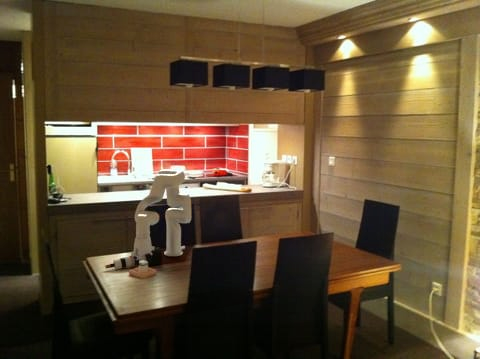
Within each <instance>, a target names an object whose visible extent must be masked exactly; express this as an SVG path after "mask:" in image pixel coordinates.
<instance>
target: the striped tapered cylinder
mask: <svg viewBox="0 0 480 359" xmlns="http://www.w3.org/2000/svg"><path fill="white" fill-rule="evenodd" d="M162 253H163V252H162V250H161V248H160V247H159V246H158V247H155V248H154V252H153V253H152V255H151V256H152V262H148V267H150V266H154V265H158V264H162V263H163V261H164V260H163V258H164V257H163V254H162ZM147 255H148V254H145V255H142V256H140V257H139V259H138V260H139V261H142V260H144V261H147ZM104 267H105V269H109V268H110V269H111V268H114V270H115V271H117V270H123V269H129V268H134V267H135V268H136V266H135V259H134V258H133V257H132V255H128V256H124V257H120V258H118V259H117V258H116V259H113V263H109V264H106V265H104Z"/></svg>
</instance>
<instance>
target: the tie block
mask: <svg viewBox="0 0 480 359" xmlns="http://www.w3.org/2000/svg"><path fill="white" fill-rule="evenodd" d="M148 267H149V266H148V261H144V260H142V261H139V266H137V268H138V272H139V273H142V274H143V273H146V272H148Z"/></svg>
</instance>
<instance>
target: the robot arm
mask: <svg viewBox="0 0 480 359" xmlns="http://www.w3.org/2000/svg"><path fill="white" fill-rule="evenodd" d="M185 179H186V174H185V172H184V171H182V170H179V169H168V168H167V169H164V168H163V169H161V170H159V171H158V173H157V174H156V175H155V176H154V179H153V182H152V185H151V187H150V191H149V193H148V195H147V196H145V197H144V198H143V199H142V200H141V201H140V202H139V203H138V205H137V207H136V210H135V213H134V221H135V224H136V225H135V230H136V232H135V234H136V237H135V239H134V243H133V244H134V245H133V251H132V252H130V254H131V255H132V257H133V258H134V259H135V267H138V266H139V260H138V259H139V257H140V256H142V255H145V254H148V255H147V261H148V262H152V256H151V255H152V253H153V252H154V248H156V247H155V246H152V240H151V236H150V234H151V231H150V230H151V229H150V226H154V225H156V224H157V223H158V222H159V221H160V214H159V213H157V211H150V210H149V211H148V210H146V208H147V207H149V206H151V205H153V204H156V203H159V202H161V201H162V200H163V199H164V195H166V204H167V205H168V206H169V208H168V209H166V210H165V214H164V215H165V216H164V217H165V221H166V250H165V251H164V252H163V253H164V254H163V255H165V256H168V257H178V256H183V254H184V252H183V251H182V250H185V248H186V246H185V245H182V242H181V241H182V240H181V239H182V227H181V225H180V224H190V222H191V220H192V199H191V196H190V195H189V194H188V193H186V192H185V193H184V192H180V185H182V184H183V183H184V181H185ZM165 192H166V194H165ZM131 255H130V256H131Z"/></svg>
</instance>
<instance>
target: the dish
mask: <svg viewBox="0 0 480 359" xmlns="http://www.w3.org/2000/svg"><path fill="white" fill-rule="evenodd" d="M154 274H155V275H157V269H155V268H152V267H150V266H148V272H146V273H143V274H142V273H139V272H138V267H135V268H133V269H129V270H128V275H129V276H132V277H135V278H139V279H141V280H143V279H146V278H149V277H151V275H152V276H154ZM148 276H149V277H148Z"/></svg>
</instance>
